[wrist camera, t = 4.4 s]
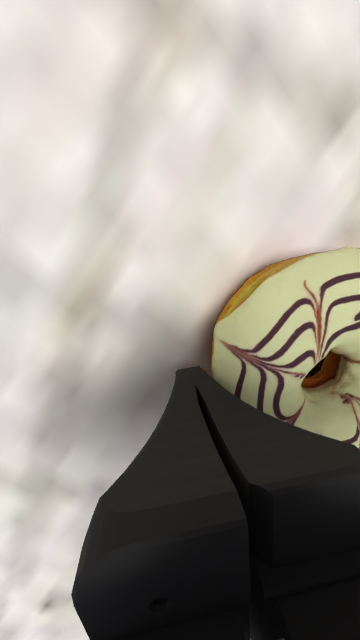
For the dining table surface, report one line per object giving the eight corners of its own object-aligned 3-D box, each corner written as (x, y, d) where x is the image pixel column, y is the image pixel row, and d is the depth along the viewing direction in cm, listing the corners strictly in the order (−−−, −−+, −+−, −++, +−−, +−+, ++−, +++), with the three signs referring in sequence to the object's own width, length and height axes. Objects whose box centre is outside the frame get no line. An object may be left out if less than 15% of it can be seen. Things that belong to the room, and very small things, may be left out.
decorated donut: (355, 208, 10) (464, 182, 7) (395, 376, 14) (483, 419, 10) (165, 316, 11) (171, 346, 7) (248, 454, 14) (281, 523, 10)
